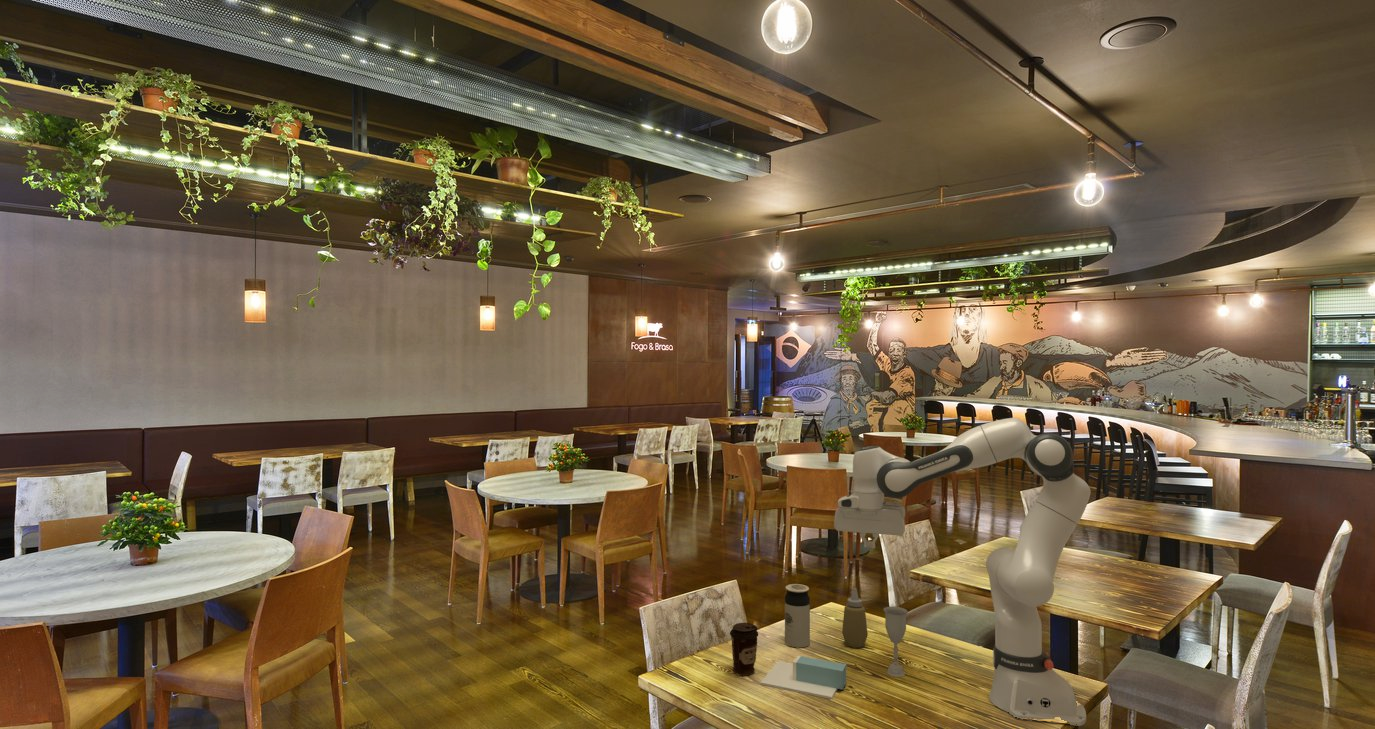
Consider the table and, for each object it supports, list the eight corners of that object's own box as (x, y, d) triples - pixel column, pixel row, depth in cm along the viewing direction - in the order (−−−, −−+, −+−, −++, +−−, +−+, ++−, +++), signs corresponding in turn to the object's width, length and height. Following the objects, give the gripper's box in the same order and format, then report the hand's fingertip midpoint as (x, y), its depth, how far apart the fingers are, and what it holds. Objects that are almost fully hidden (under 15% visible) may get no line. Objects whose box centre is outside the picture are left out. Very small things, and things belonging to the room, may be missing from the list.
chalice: (909, 679, 192) (909, 615, 193) (884, 677, 194) (884, 614, 194) (906, 668, 200) (906, 607, 200) (882, 666, 201) (882, 605, 201)
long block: (846, 664, 189) (797, 655, 195) (842, 671, 185) (792, 661, 191) (846, 682, 189) (797, 672, 195) (842, 689, 185) (792, 679, 191)
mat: (844, 675, 195) (844, 673, 195) (831, 699, 180) (831, 697, 181) (778, 662, 204) (778, 660, 204) (760, 684, 189) (760, 682, 189)
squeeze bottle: (870, 649, 213) (870, 592, 214) (845, 649, 214) (844, 592, 214) (864, 639, 221) (864, 584, 222) (839, 639, 222) (839, 584, 222)
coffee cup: (765, 671, 198) (765, 626, 198) (747, 680, 191) (747, 634, 192) (741, 662, 203) (741, 619, 204) (723, 671, 197) (724, 626, 198)
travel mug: (804, 637, 223) (804, 582, 224) (813, 647, 215) (813, 590, 216) (781, 639, 221) (781, 584, 222) (790, 649, 214) (790, 591, 214)
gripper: (906, 501, 199) (907, 548, 199) (836, 497, 208) (837, 542, 207) (903, 505, 194) (904, 553, 193) (832, 500, 202) (833, 547, 202)
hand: (869, 547), depth 200 cm, fingers closed
